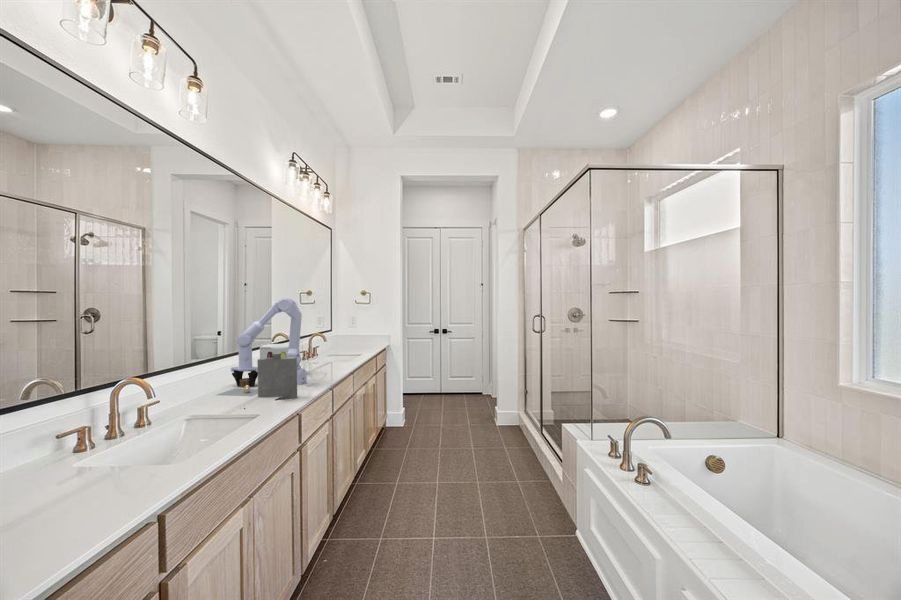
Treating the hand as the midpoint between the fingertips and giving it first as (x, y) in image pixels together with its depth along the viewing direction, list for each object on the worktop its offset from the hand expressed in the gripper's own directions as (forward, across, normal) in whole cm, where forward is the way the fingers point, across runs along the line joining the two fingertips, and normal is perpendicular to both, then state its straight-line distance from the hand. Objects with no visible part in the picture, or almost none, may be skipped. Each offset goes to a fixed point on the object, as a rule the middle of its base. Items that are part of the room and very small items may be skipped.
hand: (245, 386), depth 179 cm
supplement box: (+2, -2, +30) cm, 30 cm away
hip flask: (+2, +27, -15) cm, 31 cm away
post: (0, +10, -12) cm, 16 cm away
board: (+1, +7, -11) cm, 13 cm away
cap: (+1, 0, 0) cm, 1 cm away
